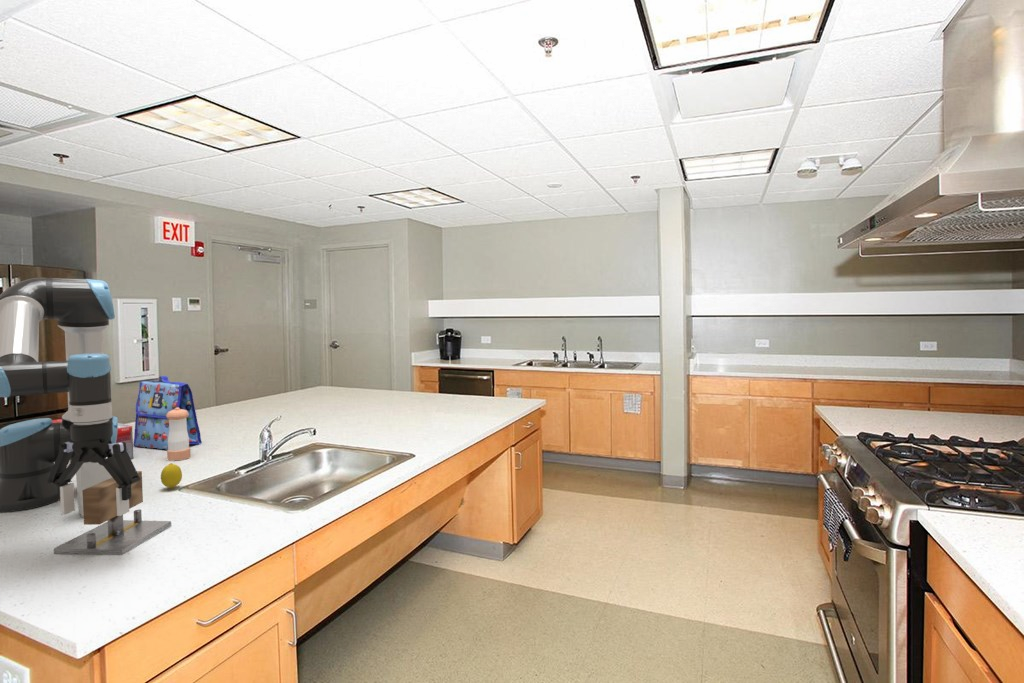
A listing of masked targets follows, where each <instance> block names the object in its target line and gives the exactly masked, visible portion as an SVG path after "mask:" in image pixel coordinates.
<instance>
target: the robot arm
mask: <svg viewBox="0 0 1024 683" xmlns="http://www.w3.org/2000/svg"><path fill="white" fill-rule="evenodd" d="M115 318H116V317H115V308H114V304H113V298H112V294H111V290H110V287H109V284H108V283H107V282H106V281H105V280H102V279H90V278H67V277H66V278H65V277H63V278H62V277H61V278H59V277H58V278H57V277H33V278H29V279H24V280H22V281H18V282H15V283H14V284H12V285H11V286H9V287H8V288H7V289H5V290H4V291H2V293H0V398H6V399H7V398H9V397H10V398H11V397H22V396H23V397H24V396H33V395H35V396H36V395H45V394H46V395H47V394H48V395H49V394H59V393H60V394H62V393H67V405H68V406H67V407H68V408H67V410H66V412H64V413H63V414H62V415H61V419H62V422H57V423H53V421H52V420H53V419H52V418H50V417H44V418H34V419H29V420H24V421H19V422H16V423H12V424H8V425H6V426H3V427H2V428H0V513H1V512H3V513H5V512H17V511H24V510H29V509H33V508H34V509H35V508H39V507H43V506H46V505H50V504H52V503H53V504H54V502H57V501H60V515H61V516H65V515H67V514H70V513H72V512H75V510H76V509H75V508H76V507H75V506H76V505H75V488H74V486H75V485H74V482H73V481H72V479H73V478H74V477H75V476H76V473H77V471H78V470H79V469H80V467H81V466H82V465H83V463H87V462H92V463H97V462H98V463H99V464H100V465H102V466H104V468H105V469H106V470H107V471H108V472H109V474H110V475H111V476H112V477H113V479H114V480H115V481H116V482H117V483H118V485H119V487H117V488H116V502H117V516H121V515H123V516H124V515H125V514H127V513H129V512H130V509H129V499H130V498H131V496H132V495H131V485H132V484H133V483H135V482H138V481H139V480H140V477H139V475H138V473H137V471H138V470H137V469H136V468H135V464H133V461H132V459H130V457H129V455H128V453H127V450H126V443H125V442H120V443H116V440H117V431H118V429H117V428H118V423H119V420H118V419H119V418H118V417H117V416H115V415H113V403H112V401H113V400H112V378H111V370H112V366H111V361H110V356H109V355H108V354H106V353H104V334H103V332H104V330H105V329H106V328H107V327H109V326H110V321H109V320H114V319H115ZM42 320H56V321H57V327H58V328H60V329H61V330H63V331H64V339H65V340H64V342H65V343H64V344H65V360H55V361H52V360H51V361H39V349H40V348H39V346H40V344H39V342H40V341H39V338H40V335H39V334H40V333H39V332H40V330H39V328H40V322H41V321H42ZM106 457H107V459H106ZM115 459H116V460H115Z"/></svg>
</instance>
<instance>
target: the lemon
mask: <svg viewBox="0 0 1024 683" xmlns="http://www.w3.org/2000/svg"><path fill="white" fill-rule="evenodd" d="M182 479H183V472H182V469H181V467H180V466H179V465H178V464H175V463H172V462H171V463H169V464H167V465H166V466H164V467H163V468H162V470H161V473H160V482H161V483H162V485H163V486H164V487H167V488H169V489H174V488H175V487H177V486H178V485H179V484H180V482H181V481H182Z"/></svg>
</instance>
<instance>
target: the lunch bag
mask: <svg viewBox="0 0 1024 683" xmlns="http://www.w3.org/2000/svg"><path fill="white" fill-rule="evenodd" d="M138 386H139V388H138V395H137V399H136V401H135V402H136V403H135V425H134V435H133V447H139V448H145V447H147V448H146V449H153V448H157V449H156V450H162V449H166V450H165V451H167V450H168V436H169V419H167V417H166V415H167V413H168V412H169V411H171V410H175V408H180V409H184V410H187V412H188V413H189V415H188V417H187V418H186V421H187V432H188V437H189V445H200V444H199V443H201V444H202V438H201V436H202V435H201V430H200V426H199V423H198V416H197V412H196V408H195V403H194V395H193V391H192V389H191V387H190V385H189V384H188V383H187V382H186V383H185V382H179V381H177V382H175V381H170V380H169V377H168V375H159V376H158V380H156V381H155V380H152V381H151V380H150V381H147V380H144V381H140V382H139V385H138Z"/></svg>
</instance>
